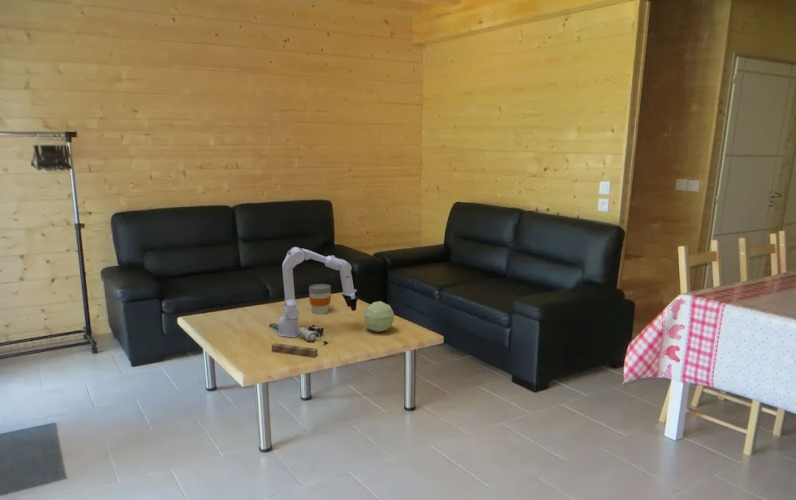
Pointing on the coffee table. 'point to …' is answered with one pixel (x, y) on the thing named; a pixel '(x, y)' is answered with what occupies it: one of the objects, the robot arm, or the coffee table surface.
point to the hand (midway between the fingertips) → (351, 308)
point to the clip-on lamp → (313, 333)
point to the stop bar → (294, 350)
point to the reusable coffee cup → (320, 298)
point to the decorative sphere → (378, 316)
